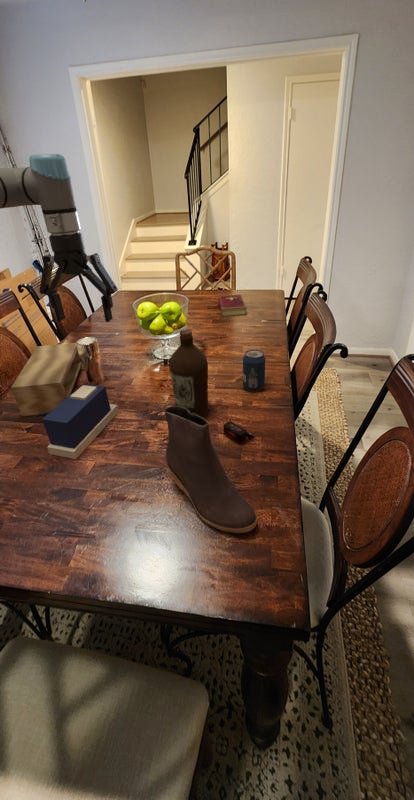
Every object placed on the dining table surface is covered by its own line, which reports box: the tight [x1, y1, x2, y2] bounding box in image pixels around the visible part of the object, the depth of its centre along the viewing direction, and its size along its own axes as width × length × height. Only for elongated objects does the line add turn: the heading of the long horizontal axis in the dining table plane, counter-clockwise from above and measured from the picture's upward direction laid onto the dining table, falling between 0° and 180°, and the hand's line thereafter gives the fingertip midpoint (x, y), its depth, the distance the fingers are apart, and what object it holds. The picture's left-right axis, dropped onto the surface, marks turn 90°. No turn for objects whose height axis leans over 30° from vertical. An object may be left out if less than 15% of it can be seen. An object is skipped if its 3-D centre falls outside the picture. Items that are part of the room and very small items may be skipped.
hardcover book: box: [218, 294, 247, 317], centre depth 186 cm, size 12×21×4 cm, turn 2°
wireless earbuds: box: [223, 421, 255, 445], centre depth 97 cm, size 5×7×3 cm, turn 43°
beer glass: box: [75, 336, 106, 386], centre depth 125 cm, size 7×7×15 cm
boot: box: [163, 405, 258, 534], centre depth 74 cm, size 9×24×20 cm, turn 44°
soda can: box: [242, 349, 266, 393], centre depth 116 cm, size 7×7×12 cm
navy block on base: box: [41, 383, 120, 460], centre depth 100 cm, size 22×8×11 cm, turn 163°
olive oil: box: [168, 328, 209, 418], centre depth 103 cm, size 11×11×25 cm
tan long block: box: [10, 342, 84, 417], centre depth 122 cm, size 14×30×10 cm, turn 8°
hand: (85, 320), depth 98 cm, fingers open, 13 cm apart
